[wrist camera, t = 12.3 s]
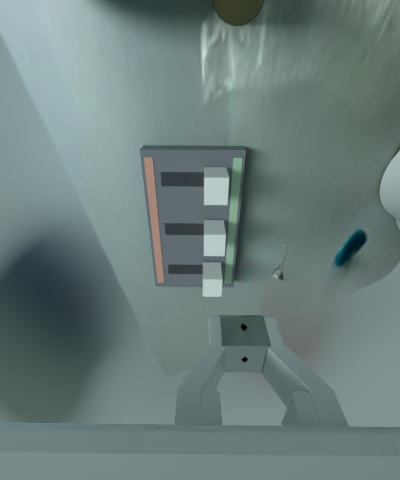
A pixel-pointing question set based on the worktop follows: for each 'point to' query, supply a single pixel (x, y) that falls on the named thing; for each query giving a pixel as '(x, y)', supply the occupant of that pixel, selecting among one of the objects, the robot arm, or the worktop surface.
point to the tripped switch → (214, 238)
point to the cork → (237, 10)
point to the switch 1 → (216, 186)
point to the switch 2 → (212, 279)
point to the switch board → (189, 210)
